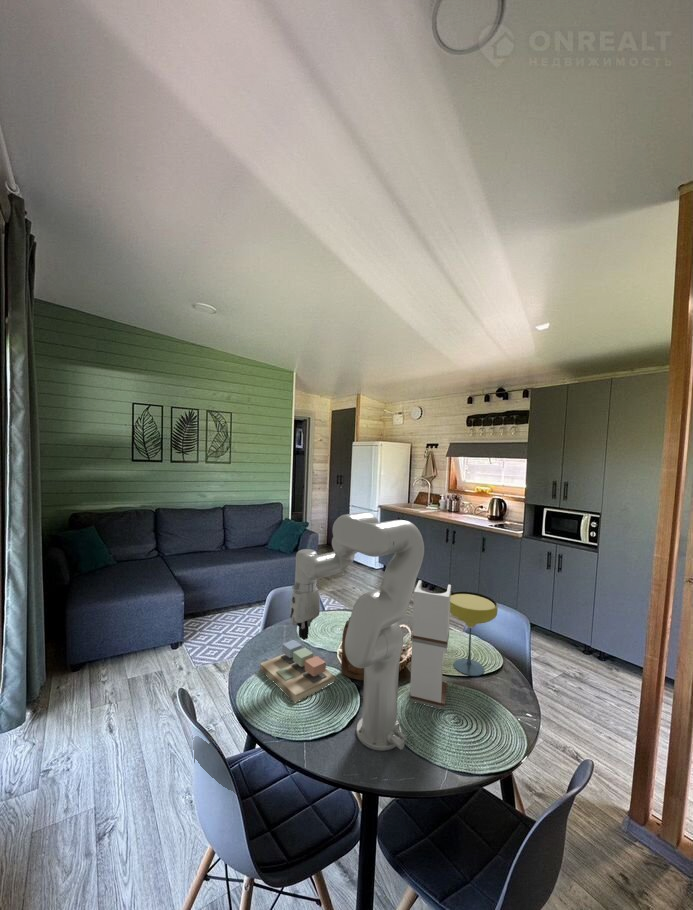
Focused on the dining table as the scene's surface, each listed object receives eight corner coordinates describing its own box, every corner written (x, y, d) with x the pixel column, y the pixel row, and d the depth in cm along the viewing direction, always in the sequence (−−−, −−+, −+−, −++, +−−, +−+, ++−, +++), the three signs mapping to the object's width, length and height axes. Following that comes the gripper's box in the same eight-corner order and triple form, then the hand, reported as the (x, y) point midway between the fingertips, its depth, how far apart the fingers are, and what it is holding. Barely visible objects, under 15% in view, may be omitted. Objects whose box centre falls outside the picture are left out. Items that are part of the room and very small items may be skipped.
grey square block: (301, 653, 135) (301, 645, 135) (289, 658, 132) (290, 649, 132) (293, 647, 139) (293, 639, 139) (282, 652, 135) (282, 643, 135)
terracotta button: (325, 671, 125) (325, 662, 125) (313, 676, 121) (313, 667, 121) (316, 664, 128) (316, 655, 128) (304, 669, 125) (304, 660, 125)
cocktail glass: (491, 658, 144) (494, 594, 144) (498, 686, 127) (501, 613, 127) (443, 651, 149) (445, 588, 149) (444, 677, 131) (446, 606, 131)
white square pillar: (444, 710, 114) (448, 596, 114) (409, 701, 117) (414, 591, 117) (446, 688, 125) (450, 584, 125) (415, 681, 128) (419, 580, 128)
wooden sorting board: (334, 683, 126) (335, 674, 125) (295, 703, 115) (295, 693, 115) (297, 655, 142) (297, 647, 142) (259, 670, 131) (260, 662, 131)
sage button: (312, 661, 130) (313, 653, 130) (301, 666, 126) (301, 658, 126) (304, 655, 134) (304, 647, 133) (292, 660, 130) (293, 651, 130)
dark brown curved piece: (373, 672, 133) (375, 616, 133) (368, 684, 126) (370, 625, 126) (344, 665, 136) (346, 611, 136) (338, 677, 129) (340, 619, 129)
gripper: (293, 594, 122) (291, 649, 122) (328, 584, 132) (326, 635, 132) (281, 587, 128) (279, 640, 128) (316, 578, 138) (313, 627, 138)
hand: (303, 637), depth 130 cm, fingers closed
